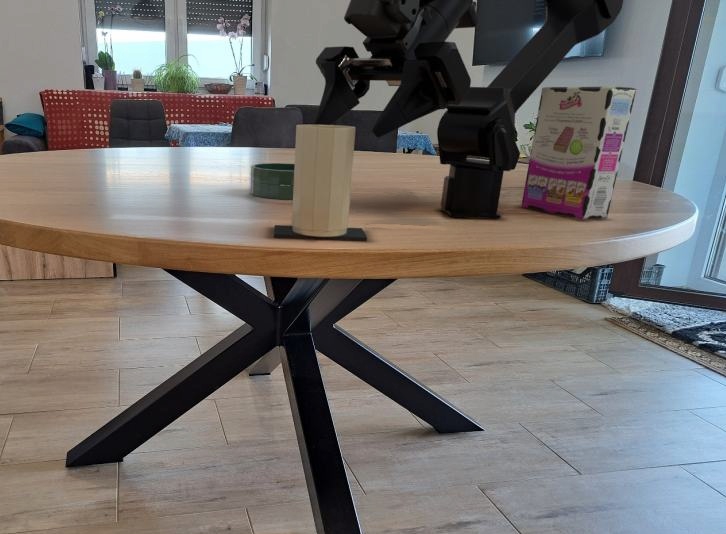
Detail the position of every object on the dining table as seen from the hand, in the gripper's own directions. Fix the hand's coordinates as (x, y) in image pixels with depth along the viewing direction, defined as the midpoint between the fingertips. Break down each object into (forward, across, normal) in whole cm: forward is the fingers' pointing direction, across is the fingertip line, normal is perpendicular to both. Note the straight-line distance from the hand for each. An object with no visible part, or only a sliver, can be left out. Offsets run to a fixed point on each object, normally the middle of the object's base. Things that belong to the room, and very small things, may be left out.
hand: (344, 131), depth 68 cm
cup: (+9, 0, +6) cm, 11 cm away
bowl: (+1, -22, +14) cm, 26 cm away
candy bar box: (-19, +5, +34) cm, 39 cm away
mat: (+10, 0, +6) cm, 11 cm away
